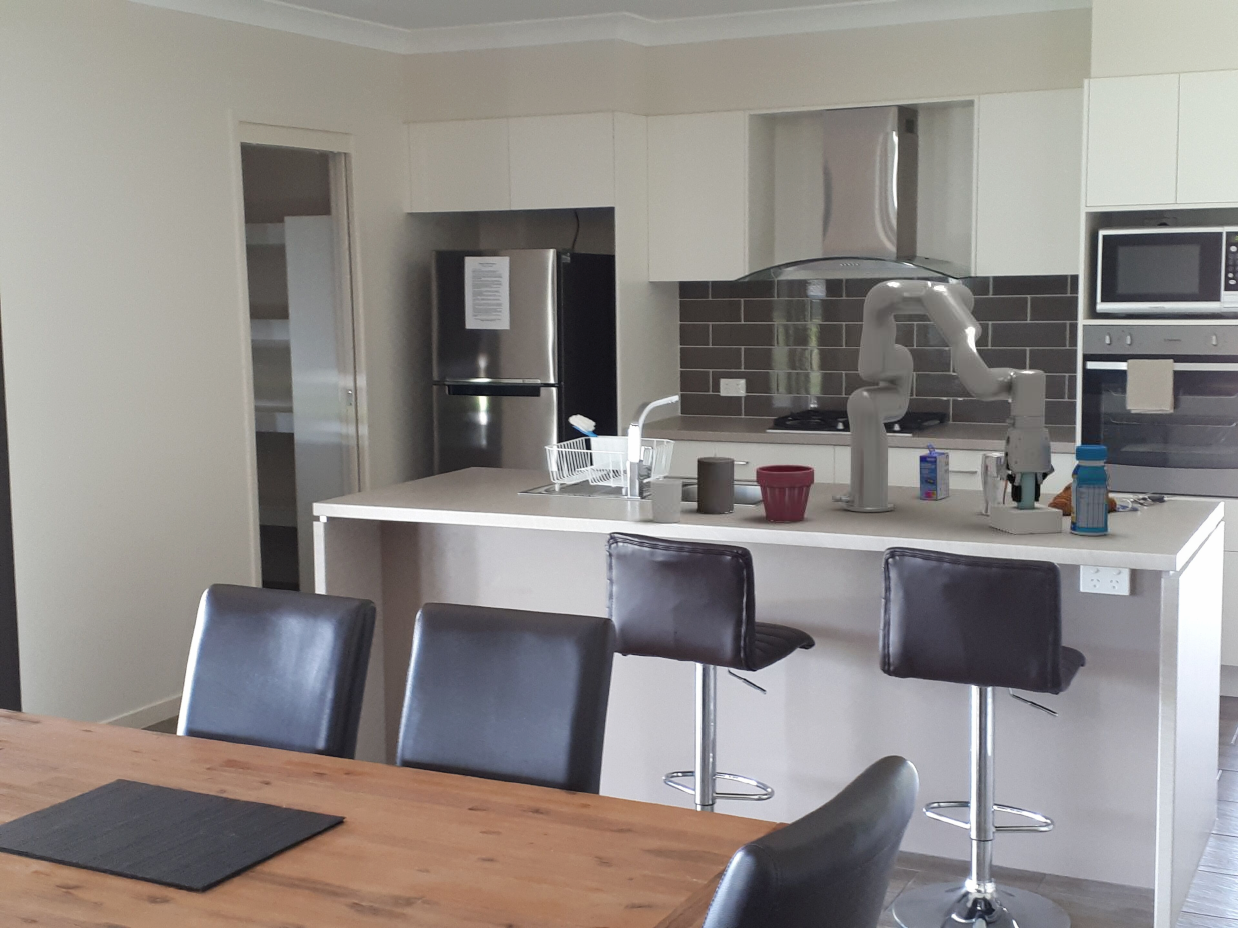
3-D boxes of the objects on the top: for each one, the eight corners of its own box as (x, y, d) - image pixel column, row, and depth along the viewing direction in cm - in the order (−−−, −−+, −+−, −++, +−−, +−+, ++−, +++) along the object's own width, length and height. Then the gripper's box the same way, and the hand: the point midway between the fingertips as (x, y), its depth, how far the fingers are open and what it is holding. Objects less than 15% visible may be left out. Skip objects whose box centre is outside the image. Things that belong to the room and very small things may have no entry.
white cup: (648, 519, 333) (648, 479, 332) (680, 518, 334) (680, 478, 333) (652, 524, 325) (652, 483, 324) (684, 523, 326) (684, 482, 325)
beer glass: (1010, 516, 331) (1011, 456, 329) (981, 515, 332) (982, 456, 330) (1007, 512, 338) (1009, 453, 336) (979, 511, 339) (980, 453, 337)
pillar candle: (689, 511, 344) (689, 454, 342) (712, 507, 351) (713, 450, 349) (718, 515, 338) (718, 457, 336) (742, 511, 345) (742, 453, 343)
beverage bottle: (1087, 537, 300) (1090, 449, 297) (1061, 532, 307) (1063, 445, 305) (1116, 534, 303) (1119, 447, 301) (1089, 529, 311) (1092, 443, 308)
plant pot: (780, 525, 321) (780, 472, 319) (744, 518, 333) (744, 467, 331) (826, 520, 328) (826, 468, 327) (789, 513, 340) (789, 463, 339)
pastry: (1054, 506, 347) (1055, 476, 346) (1117, 510, 341) (1118, 479, 340) (1045, 516, 332) (1046, 484, 331) (1111, 519, 326) (1112, 487, 325)
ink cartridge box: (930, 494, 370) (931, 443, 369) (950, 496, 367) (950, 443, 366) (918, 499, 362) (918, 446, 360) (937, 500, 359) (938, 447, 357)
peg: (1021, 524, 309) (1022, 464, 308) (1013, 522, 313) (1014, 462, 311) (1037, 524, 310) (1038, 464, 308) (1028, 521, 314) (1030, 462, 312)
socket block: (1013, 534, 305) (1014, 512, 304) (989, 526, 316) (989, 505, 316) (1062, 532, 307) (1062, 510, 306) (1035, 524, 319) (1036, 503, 318)
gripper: (1001, 425, 304) (1000, 505, 306) (1068, 423, 307) (1066, 502, 309) (986, 422, 311) (984, 500, 313) (1052, 420, 314) (1050, 497, 316)
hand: (1025, 500), depth 311 cm, fingers closed on peg, 3 cm apart
